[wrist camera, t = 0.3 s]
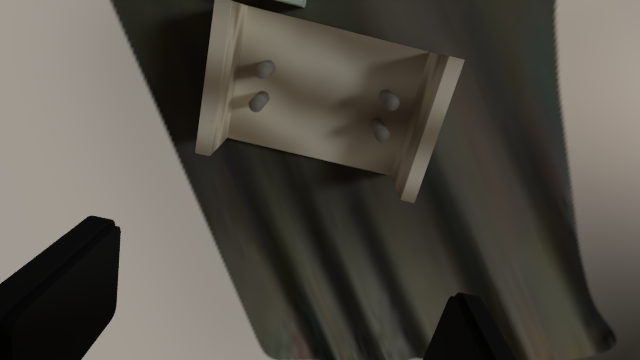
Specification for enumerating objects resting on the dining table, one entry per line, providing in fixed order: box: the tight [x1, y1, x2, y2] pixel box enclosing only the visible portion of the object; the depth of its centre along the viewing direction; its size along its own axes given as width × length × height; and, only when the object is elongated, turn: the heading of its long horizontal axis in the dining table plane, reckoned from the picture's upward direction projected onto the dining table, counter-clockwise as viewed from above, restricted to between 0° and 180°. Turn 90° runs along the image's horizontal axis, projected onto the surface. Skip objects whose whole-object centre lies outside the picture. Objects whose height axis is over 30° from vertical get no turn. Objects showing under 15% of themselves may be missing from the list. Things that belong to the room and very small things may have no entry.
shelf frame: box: [195, 0, 465, 203], centre depth 34 cm, size 12×19×8 cm, turn 77°
